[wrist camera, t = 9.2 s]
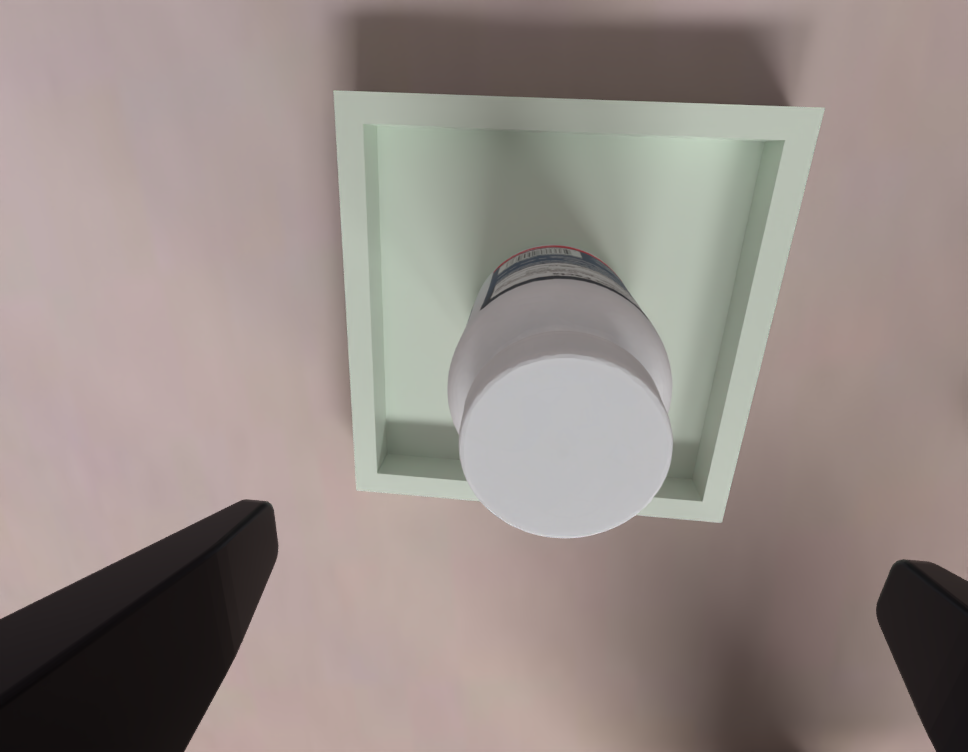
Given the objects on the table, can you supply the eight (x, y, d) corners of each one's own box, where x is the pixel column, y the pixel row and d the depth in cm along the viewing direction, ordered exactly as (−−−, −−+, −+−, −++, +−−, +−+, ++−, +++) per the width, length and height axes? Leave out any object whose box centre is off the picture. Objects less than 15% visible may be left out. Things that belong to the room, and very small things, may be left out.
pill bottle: (570, 419, 20) (594, 610, 11) (445, 344, 19) (374, 488, 11) (664, 297, 18) (774, 419, 9) (528, 209, 17) (519, 259, 9)
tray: (705, 490, 21) (721, 522, 19) (371, 461, 22) (356, 490, 20) (791, 113, 16) (824, 107, 14) (356, 97, 17) (333, 90, 15)
